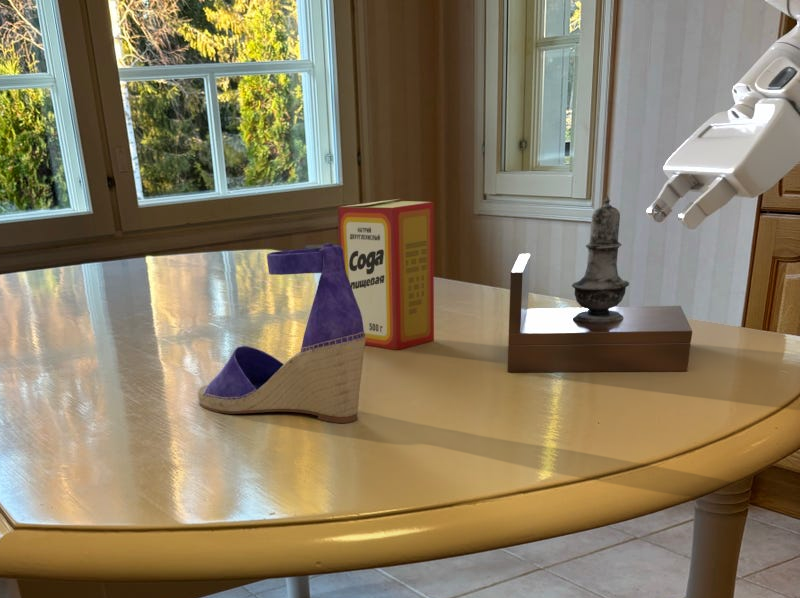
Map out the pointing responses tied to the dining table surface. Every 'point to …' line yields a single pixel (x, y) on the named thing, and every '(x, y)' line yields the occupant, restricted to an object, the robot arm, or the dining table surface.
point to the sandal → (302, 351)
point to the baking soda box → (391, 269)
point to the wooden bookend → (592, 336)
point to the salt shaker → (601, 270)
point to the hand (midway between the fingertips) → (667, 221)
